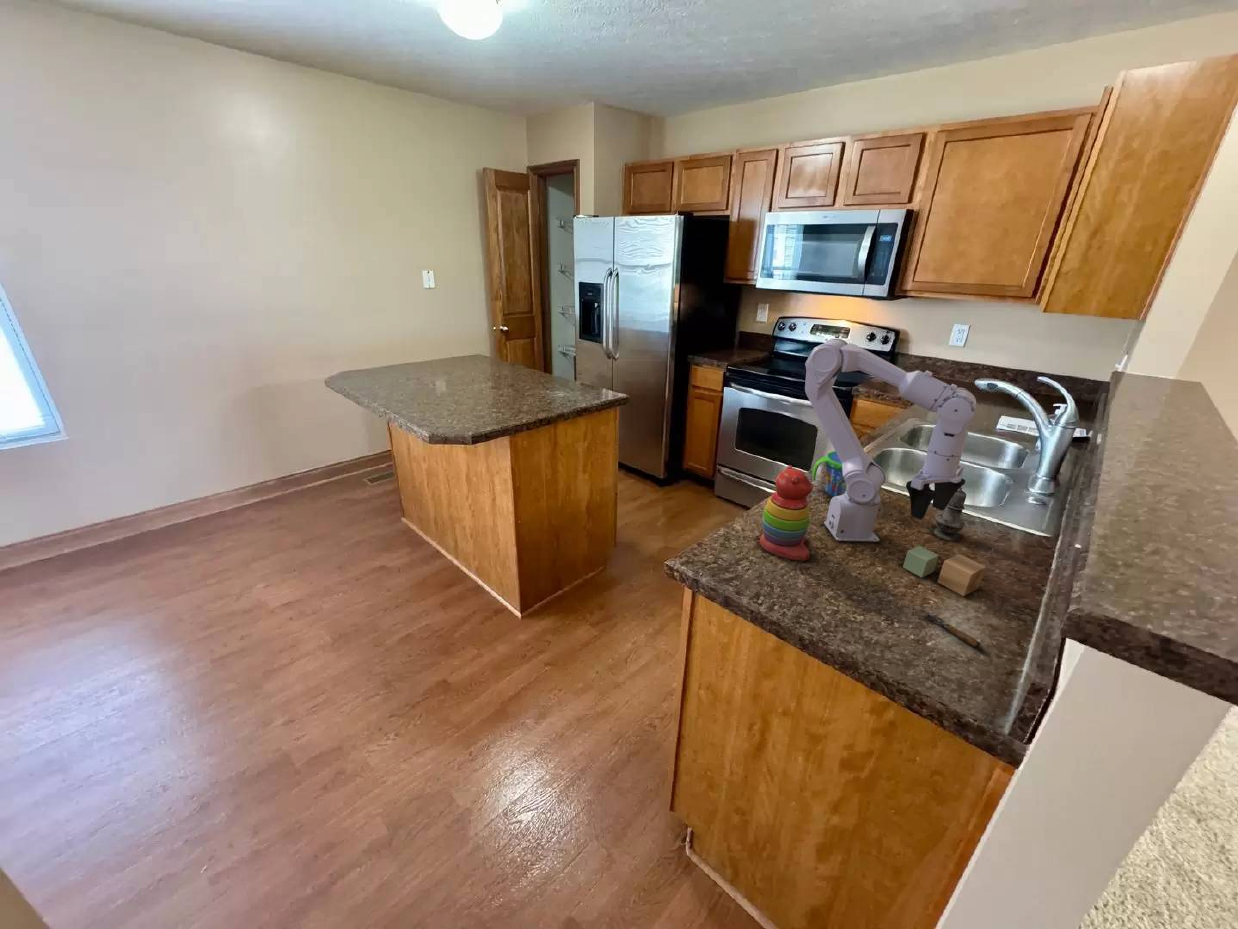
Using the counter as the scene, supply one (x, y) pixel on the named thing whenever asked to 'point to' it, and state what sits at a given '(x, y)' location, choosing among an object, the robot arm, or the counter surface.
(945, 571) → the base block
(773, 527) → the stacking bear
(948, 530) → the grey fire hydrant
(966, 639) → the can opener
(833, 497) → the robot arm
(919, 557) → the top cube
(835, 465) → the snack cup
